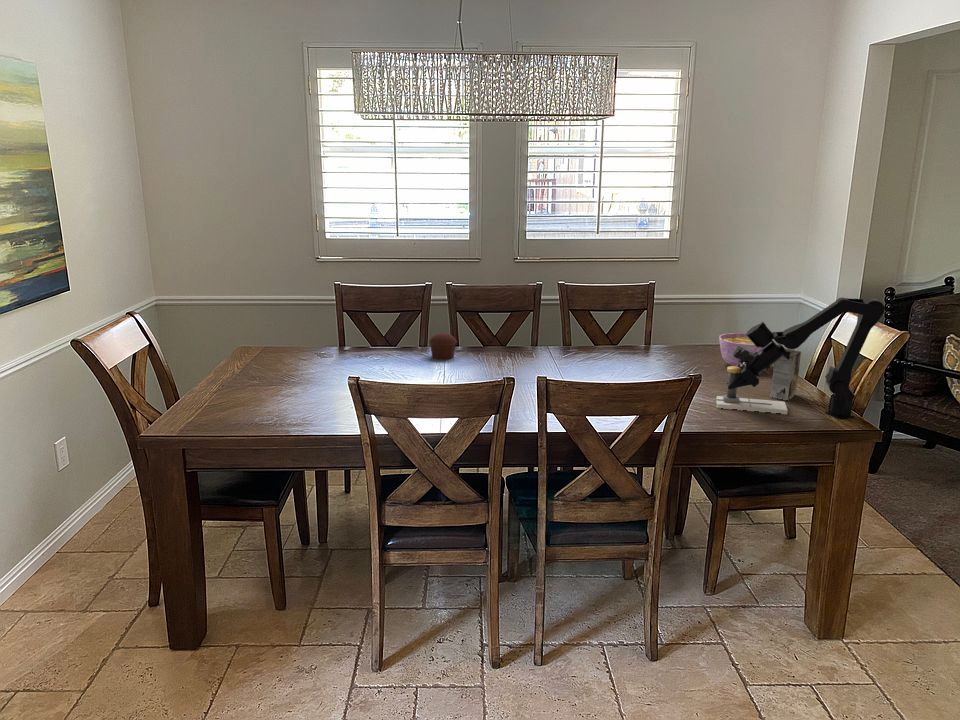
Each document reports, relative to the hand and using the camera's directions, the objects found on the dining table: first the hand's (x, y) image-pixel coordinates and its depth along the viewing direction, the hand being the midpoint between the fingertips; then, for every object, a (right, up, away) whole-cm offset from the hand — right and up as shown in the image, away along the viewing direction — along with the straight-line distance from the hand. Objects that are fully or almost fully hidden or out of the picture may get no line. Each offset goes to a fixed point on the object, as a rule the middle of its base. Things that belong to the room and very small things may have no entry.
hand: (728, 386), depth 248 cm
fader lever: (+1, -5, +1) cm, 5 cm away
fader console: (+8, -7, 0) cm, 10 cm away
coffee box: (+23, -4, +12) cm, 26 cm away
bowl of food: (+22, +6, +48) cm, 53 cm away
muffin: (-100, +10, +60) cm, 116 cm away
